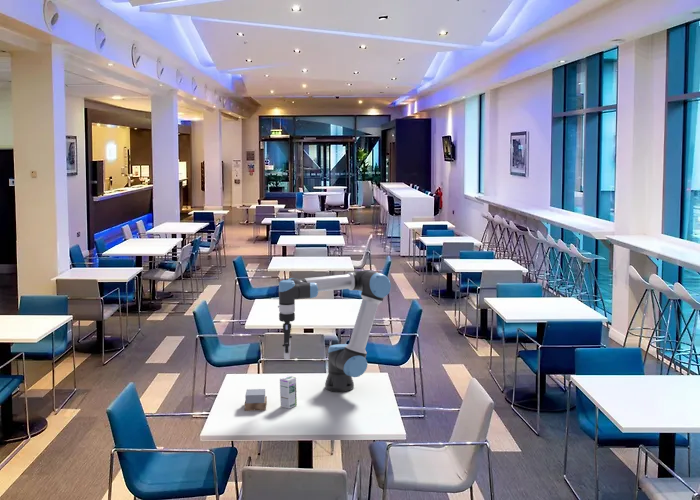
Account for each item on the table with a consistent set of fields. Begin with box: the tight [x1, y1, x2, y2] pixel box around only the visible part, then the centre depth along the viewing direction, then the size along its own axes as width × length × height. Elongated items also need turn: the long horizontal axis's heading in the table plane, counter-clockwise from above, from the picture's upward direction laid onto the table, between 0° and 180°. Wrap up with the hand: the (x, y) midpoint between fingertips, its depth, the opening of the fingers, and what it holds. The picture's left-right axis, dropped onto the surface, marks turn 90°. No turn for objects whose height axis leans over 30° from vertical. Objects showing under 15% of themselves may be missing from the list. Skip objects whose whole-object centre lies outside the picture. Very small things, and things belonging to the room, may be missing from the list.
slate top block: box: [244, 388, 266, 403], centre depth 364 cm, size 9×9×4 cm
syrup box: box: [279, 375, 298, 410], centre depth 365 cm, size 6×6×14 cm
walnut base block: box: [244, 395, 268, 412], centre depth 365 cm, size 10×10×4 cm
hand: (287, 355), depth 363 cm, fingers open, 13 cm apart
